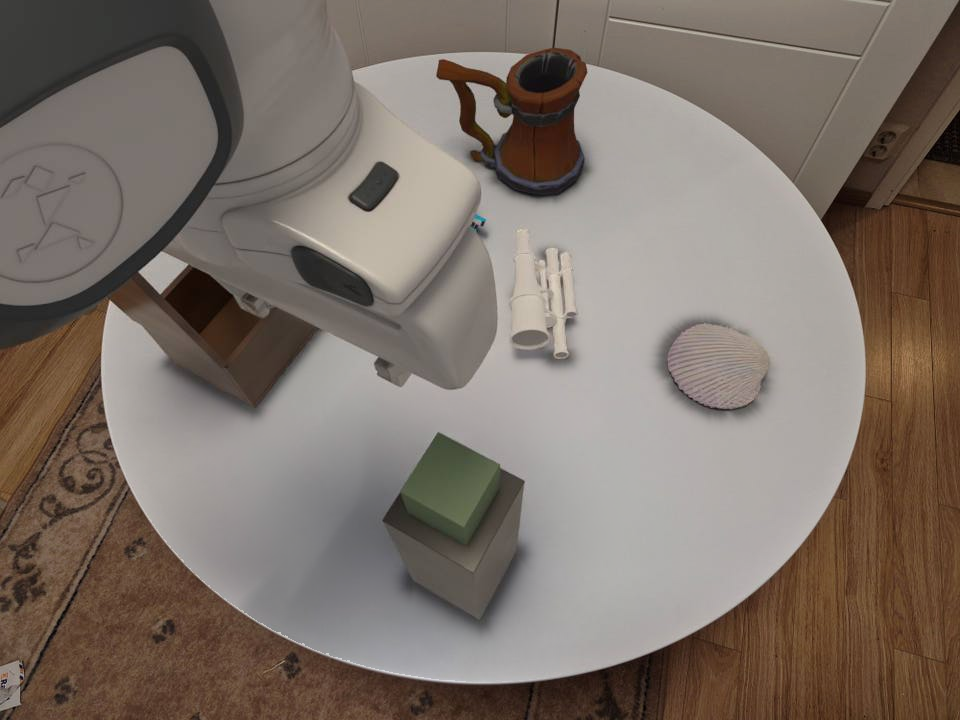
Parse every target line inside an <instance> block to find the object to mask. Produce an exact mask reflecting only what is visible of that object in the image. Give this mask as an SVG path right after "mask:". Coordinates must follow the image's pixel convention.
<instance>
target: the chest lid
mask: <svg viewBox="0 0 960 720" xmlns="http://www.w3.org/2000/svg"><path fill="white" fill-rule="evenodd" d="M160 294H161V293H159V292H158V290H157V289H156V288H155V287H154V286H153V285H152V284H151V283H150V282H149V281H148V280H147V279H146V278H145V277H144V276H143V275H142V274H141V273H140V271H139V272H138V273H136V274H135V275H134V276H133V277H132V278H131V279H130V280H128V281H127V282H126V283H125V284H124V285H123V286H121V287H120V288H119V289H118V290H116V291H115V292H114V293H113V294H111V295H110V296H109V297H108V298H107V299H108V300H109V301H110V302H111V303H112V304H113V305H115V306H116V307H117V308H118V309H119V310H120V311H121V312H122V313H123V314H125V315H126V316H127V317H128V318H129V319H130V320H131V321H133V322H135V323H136V324H139V325H141V327H143V326H144V327H146V328H148V329H149V330H151V331H153V332H155V333H157V334H159V335H160V336H162V337H164V338H166V339H168V340H170V341H171V342H173V343H175V344H177V345H179V346H180V347H182V348H184V349H186V350H188V351H190V352H191V353H193V354H195V355H197V356H199V357H201V358H202V359H204V360H206V361H208V362H210V363H212V364H213V365H215V366H217V367H219V368H221V369H224V367H225V366H226V365H227V363H226V362H225V361H224V360H223V359H222V358H221V357H220V356H219V355H218V354H217V353H216V352H215V351H214V350H213V349H212V347H211V346H210V345H209V344H208V343H207V342H206V341H205V340H204V339H203V338H202V337H201V336H200V335H199V334H198V333H197V332H196V331H195V330H194V329H193V328H192V327H191V326H190V325H189V324H188V323H187V322H186V321H185V320H184V319H183V318H182V316H181V315H180V314H179V313H178V312H177V311H176V310H175V309H174V308H173V307H172V306H171V305H170V304H169V303H168V302H167V301H166V300H165V299H164V298H163V297H162V296H161V295H160ZM98 307H99V304H98V305H97V306H95V307H94V308H93V309H91V310H90V311H88V312H87V313H85V314H84V315H83V316H90V315H92V314H94V313H95V312H96V311H97V309H98Z"/></svg>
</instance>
